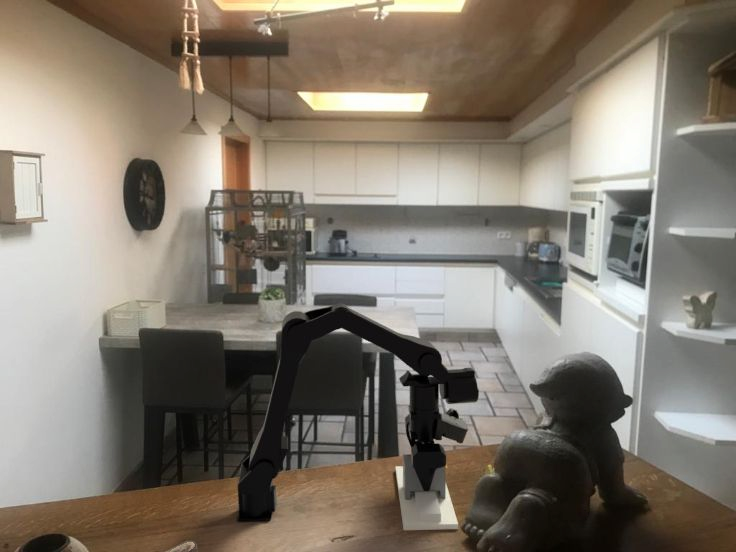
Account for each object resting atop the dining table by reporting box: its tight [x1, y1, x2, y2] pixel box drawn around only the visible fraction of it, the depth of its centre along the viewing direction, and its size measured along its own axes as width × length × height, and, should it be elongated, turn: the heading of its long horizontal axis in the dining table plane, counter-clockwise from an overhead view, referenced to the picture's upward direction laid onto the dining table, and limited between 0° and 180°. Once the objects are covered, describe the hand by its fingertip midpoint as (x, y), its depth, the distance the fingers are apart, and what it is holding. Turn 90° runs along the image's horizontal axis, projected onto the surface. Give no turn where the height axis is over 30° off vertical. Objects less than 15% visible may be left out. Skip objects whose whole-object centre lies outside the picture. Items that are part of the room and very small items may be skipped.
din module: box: [402, 453, 449, 500], centre depth 113 cm, size 9×5×7 cm, turn 91°
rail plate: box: [395, 465, 459, 531], centre depth 114 cm, size 10×22×2 cm, turn 1°
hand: (423, 478), depth 113 cm, fingers open, 9 cm apart
